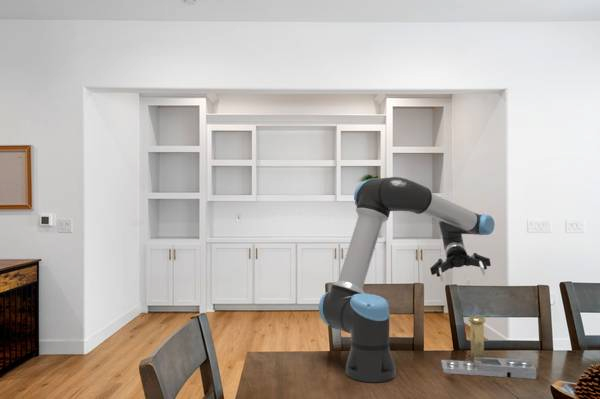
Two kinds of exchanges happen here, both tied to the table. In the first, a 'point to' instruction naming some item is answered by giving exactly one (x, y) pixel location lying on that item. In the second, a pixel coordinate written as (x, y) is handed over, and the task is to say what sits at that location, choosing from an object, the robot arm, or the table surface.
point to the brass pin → (477, 336)
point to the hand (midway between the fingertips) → (462, 274)
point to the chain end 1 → (468, 368)
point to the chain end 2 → (507, 366)
